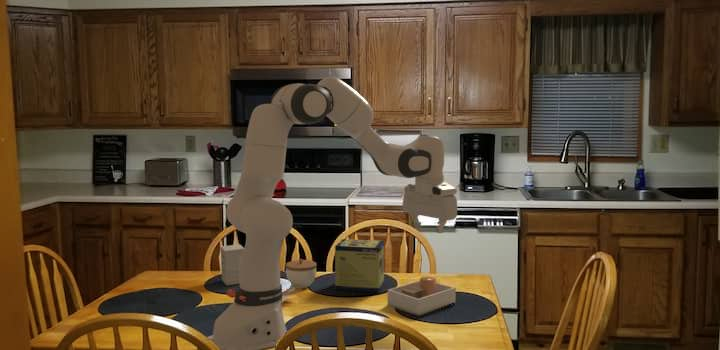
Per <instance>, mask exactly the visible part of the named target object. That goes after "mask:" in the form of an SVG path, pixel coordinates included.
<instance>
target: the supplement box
mask: <svg viewBox="0 0 720 350" xmlns="http://www.w3.org/2000/svg"><path fill="white" fill-rule="evenodd" d="M244 249H245V246H244V247H243V246H242V245H241V243H240V244H231V245H223V246H222V245H220V262H221V265H220V266H221V281H222V282H223V283H224V284H225V285H226V286H232V285H240V280H239V259H240V257H241V255H242V254H243V252H244Z"/></svg>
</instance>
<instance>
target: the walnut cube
mask: <svg viewBox="0 0 720 350" xmlns="http://www.w3.org/2000/svg"><path fill="white" fill-rule="evenodd" d="M402 294H405V295H408V296H411V297H414V298H417V299H419V298H422V297H424V290H423V289H420V288H417V287H413V286H412V287H408V288H405V289H402Z"/></svg>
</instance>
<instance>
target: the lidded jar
mask: <svg viewBox="0 0 720 350" xmlns="http://www.w3.org/2000/svg"><path fill="white" fill-rule="evenodd" d="M285 275H286V278H287V281H288V280H289V281H290V282H291V283H292V284H293V285H292V284H291V283H290V282H289V281H288V282H289V283H290V284H291V285H292V287H293V286H294V287H293V288H295V289H304V288H308V287H310V286H311V285H312V284H313V282H314V281H315V279H316V277H317V276H316V275H317V262H315V261H313V260H309V259H302V258H299V259H296V260H295V259H294V260H291V261H288V262H286V263H285Z"/></svg>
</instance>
